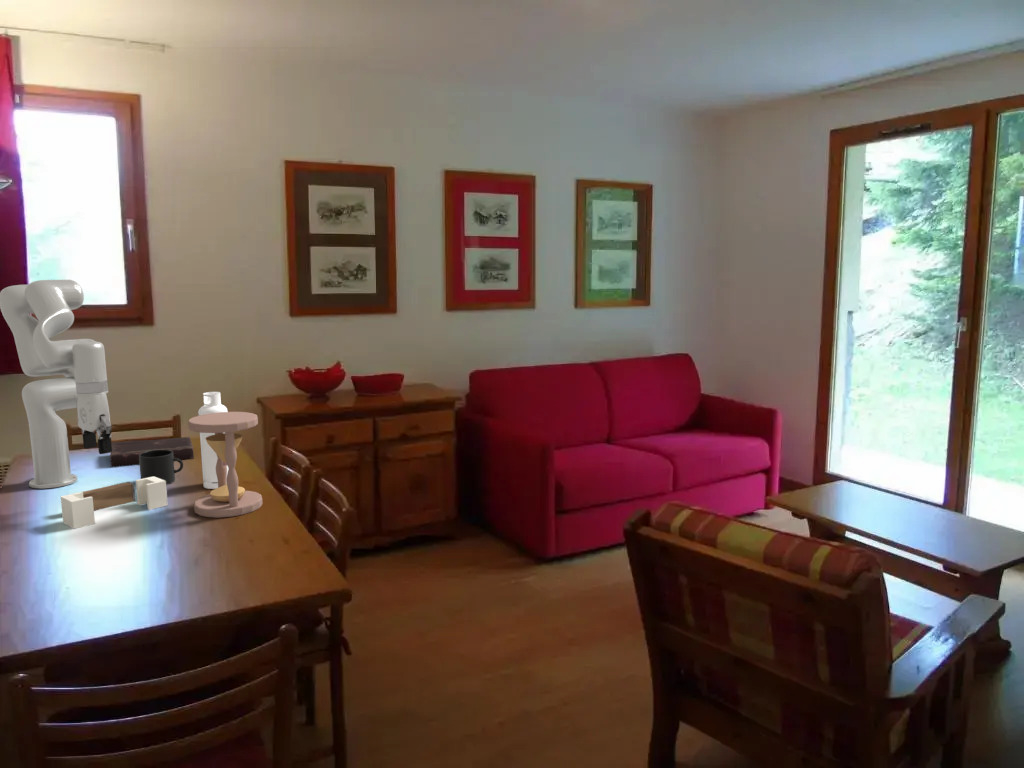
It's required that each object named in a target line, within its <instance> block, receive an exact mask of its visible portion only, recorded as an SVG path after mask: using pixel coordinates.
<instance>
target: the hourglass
mask: <svg viewBox="0 0 1024 768" xmlns="http://www.w3.org/2000/svg"><path fill="white" fill-rule="evenodd" d="M187 424H188V425H187V426H188V430H190V431H192V432H194V433H199V434H200V433H215V435H211V436H208V437H206V441H207V443H208V444H209V446H210V447H211V448H212V449H213V450H214V452H215V453H216V454H217V457H218V459H217V463H216V475H217V479H218V482H217V483H218V488H217V489H212V490H211V491H210V492H209V493H210V494H206V495H204V496H201V497H199V498H198V499H196V500H195V501H194V503H193V505H194V506H193V507H194V513H195V514H197V515H198V516H201V517H206V518H217V519H218V518H233V517H237V516H243V515H246V514H250V513H253V512H254V511H256V510H258V509H259V510H260V508H261V507H262V506H263V501H264V500H263V496H262V494H261V493H259V492H257V491H253V490H246V489H245V488H244V487H243V486H239V477H238V474H237V471H236V463H237V459H238V456H237V454H238V453H237V449H238V447H239V445H240V444H241V442H242V439H243V434H241V433H235V432H238V431H243V430H248V429H251V428H254V427H256V426H258V424H259V416H258V415H257V414H255V413H253V412H247V411H228V412H219V413H210V414H204V415H199V414H198V415H195V416H193V417H191V418H190V419H188V423H187ZM227 465H228V468H229V469H228V474H227ZM226 477H227V479H226ZM226 480H227V481H226Z"/></svg>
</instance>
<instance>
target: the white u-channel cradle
mask: <svg viewBox="0 0 1024 768" xmlns="http://www.w3.org/2000/svg"><path fill="white" fill-rule="evenodd" d="M135 490H136V502H137V505H138V506H143V505H147V510H149V511H151V510H154V509H155V510H156V509H159V508H162V507H167V506H168V505H169V503H168V494H167V493H168V492H167V485H166V481H165V480H162V479H160V478H157V477H154V476H153V477H148V478H144V479H141V478H140V479H135ZM83 492H84V491H79V492H75V493H70V494H65V495H61V496H60V503H61V504H60V505H61V513H62V514H61V515H62V522H63V524H65V525H67V526H69V527H71V528H73V529H79V528H81V527H82V528H83V527H85V526H86V527H87V526H90V525H94V524H96V520H95V511H94V507H93V497H86V498H83Z"/></svg>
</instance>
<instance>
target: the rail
mask: <svg viewBox="0 0 1024 768" xmlns="http://www.w3.org/2000/svg"><path fill="white" fill-rule="evenodd" d="M82 492H83V498H86V497H93V507H94V512H95V511H99V510H103V509H104V510H105V509H108V508H111V507H116V506H120V505H124V504H125V505H126V504H128V503H132V502H137V494H136V483H134V482H131V481H126V482H122V483H117V484H112V485H108V486H102V487H98V488H94V489H90V490H89V489H88V490H85V491H82Z"/></svg>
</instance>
